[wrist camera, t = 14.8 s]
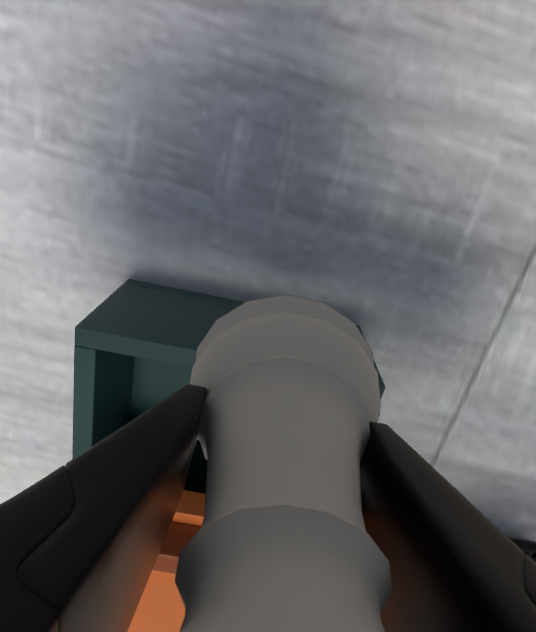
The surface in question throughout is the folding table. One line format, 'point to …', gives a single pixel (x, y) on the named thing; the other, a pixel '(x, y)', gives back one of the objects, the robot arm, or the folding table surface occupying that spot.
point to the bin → (141, 360)
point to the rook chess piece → (284, 475)
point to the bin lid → (169, 571)
